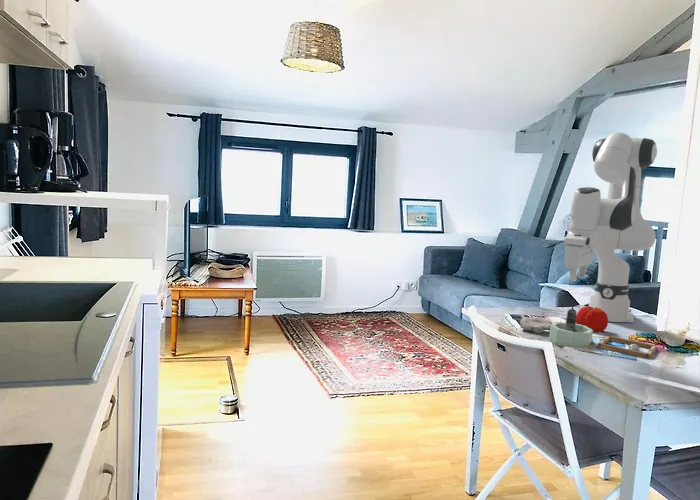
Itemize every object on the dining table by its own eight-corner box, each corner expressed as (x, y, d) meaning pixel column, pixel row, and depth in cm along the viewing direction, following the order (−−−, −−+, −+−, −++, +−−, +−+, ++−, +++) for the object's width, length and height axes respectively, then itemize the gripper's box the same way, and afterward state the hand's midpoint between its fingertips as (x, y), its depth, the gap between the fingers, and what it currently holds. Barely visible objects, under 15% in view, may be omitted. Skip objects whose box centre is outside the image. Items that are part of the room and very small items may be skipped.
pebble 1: (639, 342, 179) (628, 341, 181) (636, 351, 178) (626, 349, 180) (641, 348, 181) (631, 346, 183) (639, 356, 180) (628, 355, 182)
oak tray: (606, 342, 192) (607, 335, 192) (655, 352, 183) (656, 345, 183) (596, 350, 182) (597, 343, 181) (648, 362, 173) (649, 354, 172)
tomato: (575, 325, 212) (578, 302, 211) (607, 330, 207) (610, 307, 206) (572, 331, 203) (575, 308, 202) (605, 337, 198) (608, 313, 197)
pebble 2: (639, 354, 179) (628, 350, 180) (641, 346, 177) (630, 343, 178) (637, 360, 177) (626, 356, 178) (639, 353, 175) (628, 349, 176)
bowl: (556, 335, 197) (558, 320, 196) (593, 343, 189) (595, 327, 189) (545, 343, 187) (546, 327, 186) (583, 352, 180) (585, 335, 179)
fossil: (553, 327, 196) (527, 314, 197) (543, 343, 198) (518, 329, 199) (550, 319, 204) (525, 306, 205) (541, 334, 206) (516, 321, 207)
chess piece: (555, 339, 188) (559, 304, 187) (570, 338, 190) (574, 304, 188) (566, 344, 183) (571, 309, 181) (582, 344, 184) (586, 308, 183)
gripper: (581, 234, 193) (576, 273, 195) (562, 238, 177) (558, 281, 179) (600, 236, 189) (595, 276, 191) (583, 241, 173) (578, 285, 175)
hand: (577, 279), depth 185 cm, fingers open, 8 cm apart
